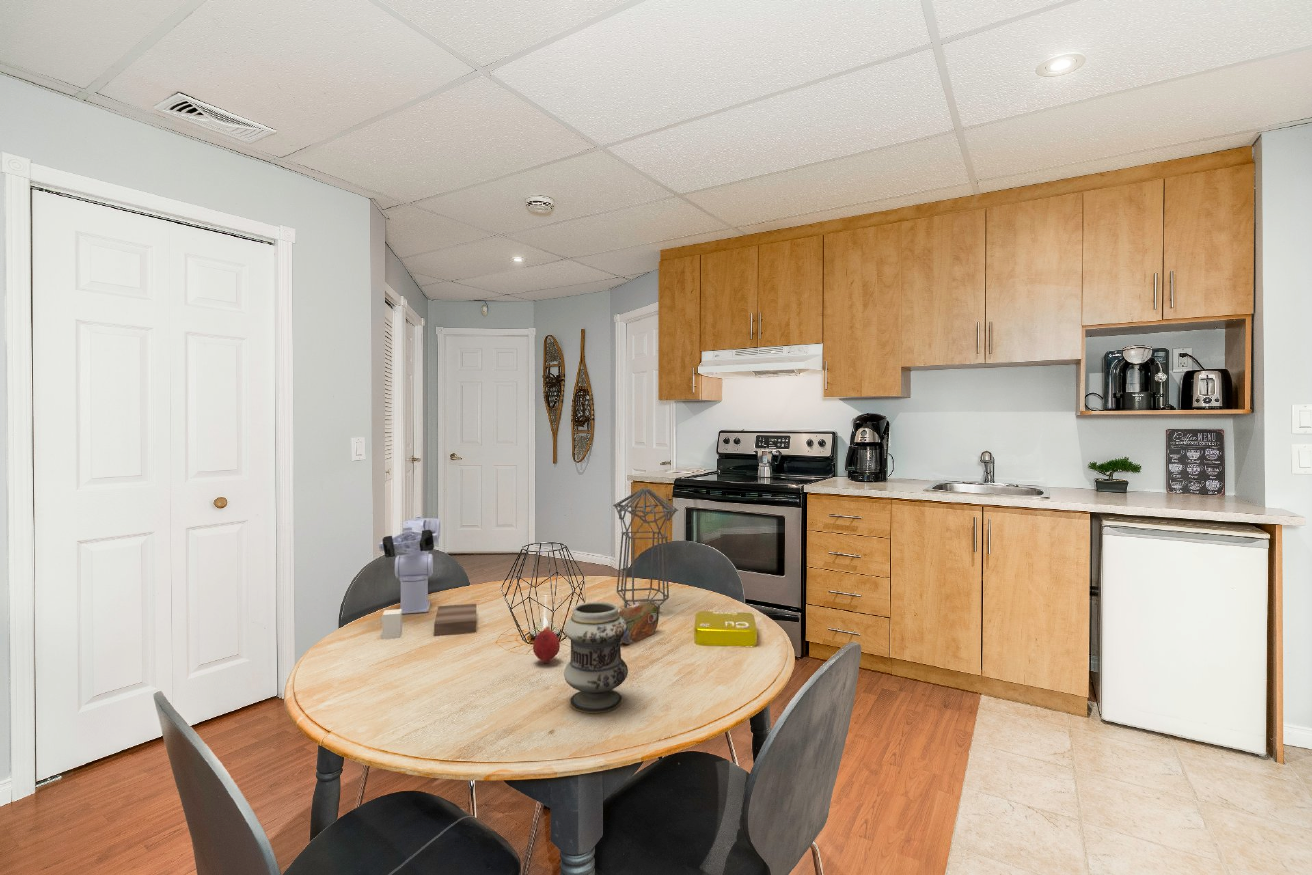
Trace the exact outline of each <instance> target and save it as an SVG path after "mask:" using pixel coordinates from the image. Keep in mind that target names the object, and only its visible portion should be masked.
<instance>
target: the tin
mask: <svg viewBox="0 0 1312 875" xmlns="http://www.w3.org/2000/svg"><path fill="white" fill-rule="evenodd" d="M656 606H657V605H656V604H655V603H653V602H652V601H651V602H650V601H649V602H636V603H635V605H634V604H632V605H631V606H629V605H628V606H627V608H624V607H623V608H622V609H620V610H618V613H619V616H621V617H622V618H623V619H624V620H625V622H626V624H627V630H626V633H625V635H624V636H623V637H622V638H621V642H620V644H621V643H622V644H626V645H633V644H635V643H638V642H640V641H641V640H644V639H647V638H648V637H651V636H652V635H653V634H654V633H655V632H656V630H657V628H658V625H659V619H660V618H659V615H660V614H659V613H660V612H659V613H658V609H657V607H656Z"/></svg>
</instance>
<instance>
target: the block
mask: <svg viewBox="0 0 1312 875" xmlns="http://www.w3.org/2000/svg"><path fill="white" fill-rule="evenodd" d="M381 620H382V621H381V622H382V626H381V628H382V632H381V633H382V634H381V636H382V637H381V638H382V640H389V639H392V640H393V639H400V638H401V636H402V635H403V634H402V633H403V614H402V609H385V610H384V611H383V613H382V619H381Z"/></svg>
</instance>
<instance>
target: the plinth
mask: <svg viewBox="0 0 1312 875" xmlns="http://www.w3.org/2000/svg"><path fill="white" fill-rule="evenodd" d="M475 632H476V633H477V603H465V604H449V605H439V606H437V611H436V615H435V619H434V622H433V637H436V636H437V637H439V636H440V635H441V636H449V635H450V636H451V635H462V634H463V633H465V634H474V633H475ZM476 633H475V634H476Z"/></svg>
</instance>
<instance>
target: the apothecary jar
mask: <svg viewBox="0 0 1312 875" xmlns="http://www.w3.org/2000/svg"><path fill="white" fill-rule="evenodd" d="M618 612H619V608H618V605H617V604H614V603H613V602H608V601H607V602H606V601H590V602H584V603H580V604H577V605H575V606H574V607H573V609H572V614H571V617H569V619H568V620H567V621H566V622H565V624H564V628H563V630H564V634H565V637H567V638H568V639H569V640H570V660H569V662H568V663H567V664H566V665H565V668H564V670H563V676H564V680H565V682H566V684H568V686H570V687H571V688H573V689H574V690H577V692H576V693H574V694H573V695H572V696H571V698H570V700H569V704H570V707H571V708H572V709H573V710H575V711H577V712H581V713H585V714H601V713H608V712H610V711H613V710H615V709H617V708H619V707H620V706H621V704H622V702H623V696H622V694H621V693H619V692H618V691H616V690H614V689H616V688H618V687H619V686H620V685H621V684H623V683H624V681H625V680H626V679H627V678H628V674H629V669H628V665H627V663H626V662H625V660H624V659H622V651H621V650H622V649H621V647H622V646H621V638H622V637H623V636H624V635H625V633H626V630H627V624H626V622H625V620H624V619H623V618H622V617H621V616H619V613H618Z"/></svg>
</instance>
